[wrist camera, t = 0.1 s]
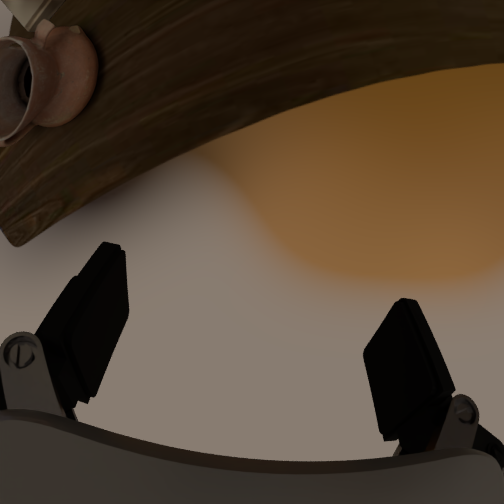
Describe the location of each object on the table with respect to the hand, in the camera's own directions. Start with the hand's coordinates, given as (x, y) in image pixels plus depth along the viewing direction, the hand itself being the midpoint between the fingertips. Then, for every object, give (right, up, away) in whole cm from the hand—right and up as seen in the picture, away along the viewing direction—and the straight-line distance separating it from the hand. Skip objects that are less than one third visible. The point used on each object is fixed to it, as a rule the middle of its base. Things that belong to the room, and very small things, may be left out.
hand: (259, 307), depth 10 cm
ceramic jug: (-27, +26, +22) cm, 43 cm away
